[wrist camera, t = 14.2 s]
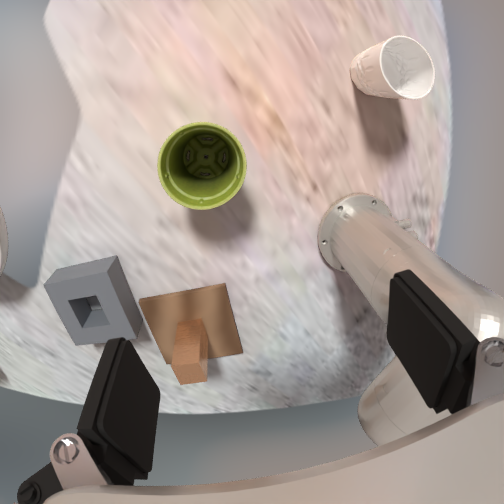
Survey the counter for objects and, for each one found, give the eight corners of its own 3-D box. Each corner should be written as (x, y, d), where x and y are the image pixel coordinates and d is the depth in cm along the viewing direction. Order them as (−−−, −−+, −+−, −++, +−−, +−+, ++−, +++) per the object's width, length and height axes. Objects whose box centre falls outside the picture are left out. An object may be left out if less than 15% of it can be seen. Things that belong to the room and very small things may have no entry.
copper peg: (201, 318, 48) (199, 362, 39) (207, 336, 50) (207, 381, 41) (177, 322, 48) (171, 366, 39) (185, 340, 50) (180, 384, 41)
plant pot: (169, 190, 40) (157, 209, 32) (170, 121, 36) (157, 122, 28) (239, 191, 41) (244, 210, 33) (243, 122, 37) (249, 123, 29)
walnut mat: (224, 283, 47) (225, 286, 46) (242, 349, 53) (242, 352, 52) (139, 298, 47) (138, 302, 46) (167, 360, 53) (166, 364, 52)
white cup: (386, 108, 38) (427, 110, 29) (339, 87, 36) (372, 81, 27) (399, 62, 35) (439, 56, 26) (352, 39, 33) (387, 24, 24)
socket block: (116, 255, 43) (106, 271, 39) (142, 319, 48) (136, 338, 44) (56, 269, 43) (43, 285, 38) (84, 327, 48) (75, 345, 44)
